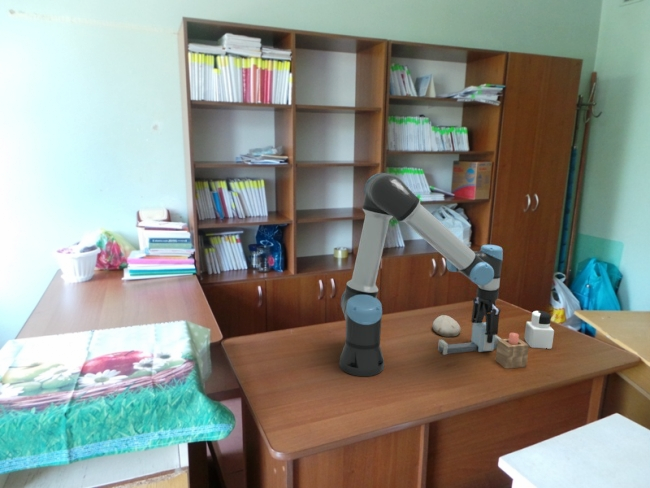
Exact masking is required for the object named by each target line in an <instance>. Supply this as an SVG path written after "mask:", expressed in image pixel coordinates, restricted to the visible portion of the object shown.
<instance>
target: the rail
mask: <svg viewBox="0 0 650 488" xmlns="http://www.w3.org/2000/svg"><path fill="white" fill-rule="evenodd" d="M500 339H502V338H501V337H500V336H498V334H497V335H495V340H494V349H493V350H497V343H498V340H500ZM437 347H438V348H437V351H438V352H440V353H441V354H442V355H448V354H457V353H467V352H468V353H469V352H479V351H478V345H476V344H475V343H474V342H471V341H470V342H464V343H463V342H461V343H451V344H449V343H447V342H446V341H445V340H444V339H439V340H438V346H437Z"/></svg>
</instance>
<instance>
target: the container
mask: <svg viewBox="0 0 650 488" xmlns="http://www.w3.org/2000/svg"><path fill="white" fill-rule="evenodd" d="M551 321H552V314H550V313H548V312H547V311H544V310H534V311H533V312H532V313H531V320H530V321H526V323H525V331H524V340H525V341H524V342H525V343H527V344H528V345H529V348H531V349H546V348H547V350H548V349H549V350H551V349H552V348H553V341H554V333H555V330H554V329H553V328H552V326H550V325H551Z"/></svg>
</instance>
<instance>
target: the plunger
mask: <svg viewBox="0 0 650 488" xmlns="http://www.w3.org/2000/svg"><path fill="white" fill-rule="evenodd" d="M519 337H520V335H519V333H518V332H513V331H512V332H510V333H509V335H508V339H509V342H508V343H509V344H511V345H518V339H520V338H519Z"/></svg>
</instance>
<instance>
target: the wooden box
mask: <svg viewBox="0 0 650 488" xmlns="http://www.w3.org/2000/svg"><path fill="white" fill-rule="evenodd" d="M508 342H509V338H501V339H500V340H498V343H497V349H496V353H495V362H497V363H498V364H499V365H500V366H502V367H503V368H504V369H506V370H507V369H514V368H515V369H517V368H524V367H525V368H526V367H527V364H528V357H529V356H528V354H529V348H530V346H529V344H528V343H527V342H526V341H523V340H522V339H520V338H519V339H518V345H511V344H509V343H508Z"/></svg>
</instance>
